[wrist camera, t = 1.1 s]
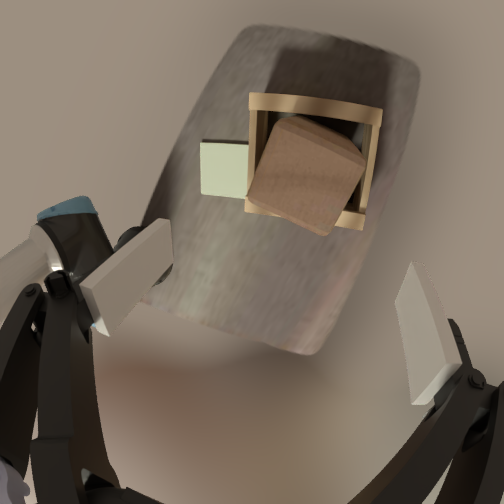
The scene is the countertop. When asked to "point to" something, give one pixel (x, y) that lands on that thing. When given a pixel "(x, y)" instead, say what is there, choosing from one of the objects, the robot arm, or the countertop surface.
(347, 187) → the wooden block
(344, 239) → the countertop surface
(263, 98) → the crate
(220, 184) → the mat
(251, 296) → the countertop surface
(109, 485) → the robot arm
